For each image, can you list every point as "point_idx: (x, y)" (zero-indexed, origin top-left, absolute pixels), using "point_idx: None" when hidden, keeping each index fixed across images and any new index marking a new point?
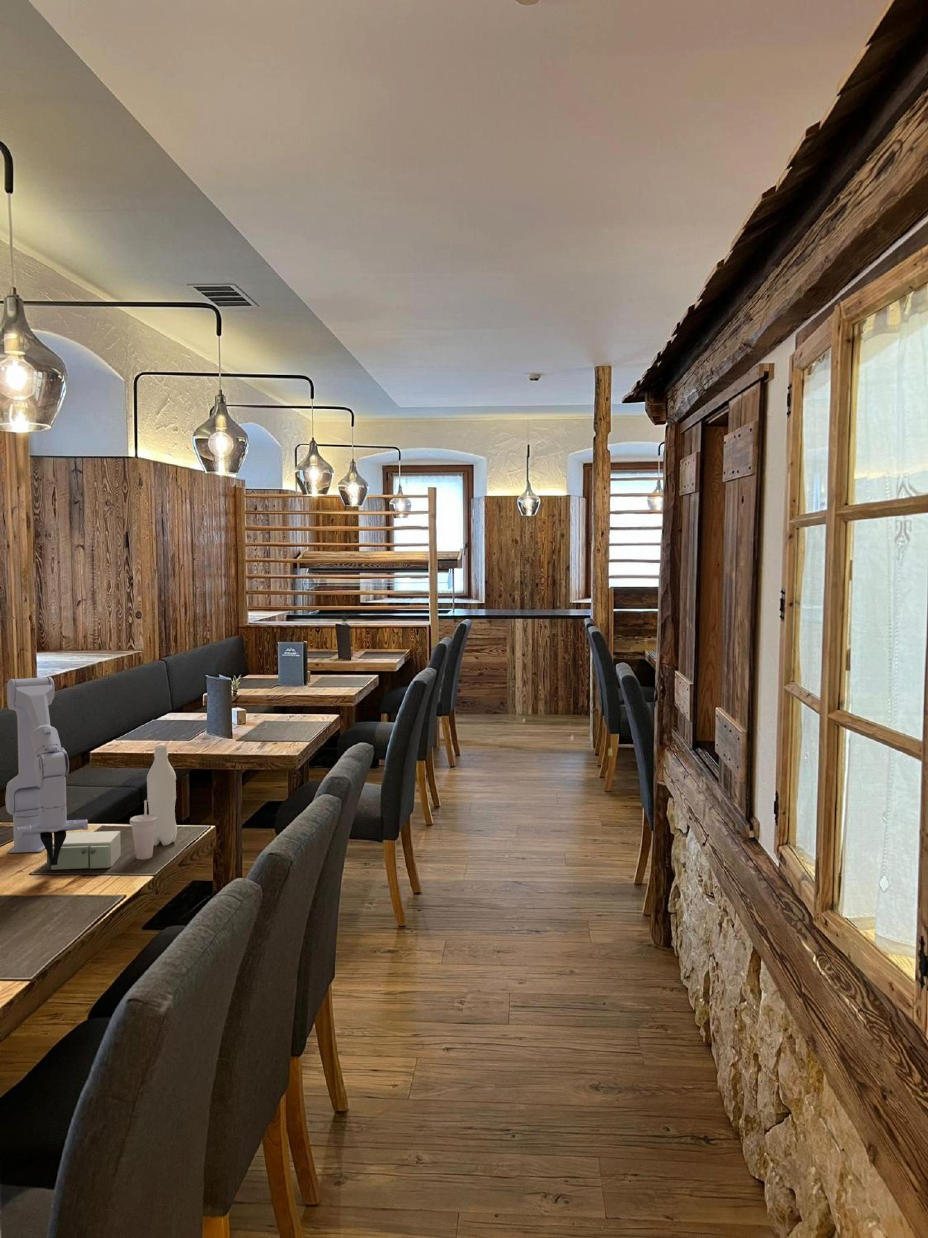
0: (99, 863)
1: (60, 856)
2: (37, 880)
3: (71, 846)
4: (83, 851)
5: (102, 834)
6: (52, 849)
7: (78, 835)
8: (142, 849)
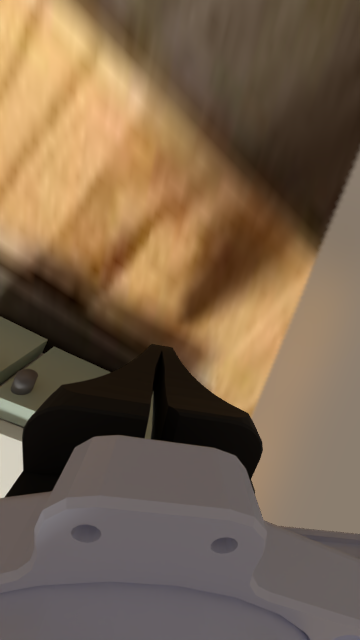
0: (4, 331)
1: None
2: (209, 339)
3: None
4: (25, 377)
5: None
6: (167, 374)
7: None
8: None
